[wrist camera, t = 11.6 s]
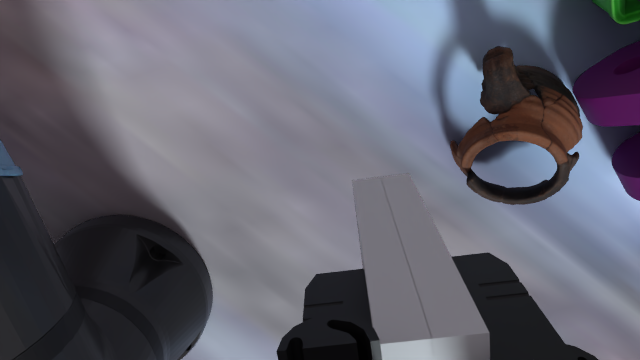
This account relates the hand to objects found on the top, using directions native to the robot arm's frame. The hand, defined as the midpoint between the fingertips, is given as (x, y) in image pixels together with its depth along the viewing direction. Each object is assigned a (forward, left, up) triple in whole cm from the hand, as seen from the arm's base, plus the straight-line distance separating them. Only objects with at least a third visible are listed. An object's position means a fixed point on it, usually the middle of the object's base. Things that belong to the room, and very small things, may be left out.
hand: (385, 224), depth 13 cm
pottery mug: (+12, -4, -27) cm, 30 cm away
